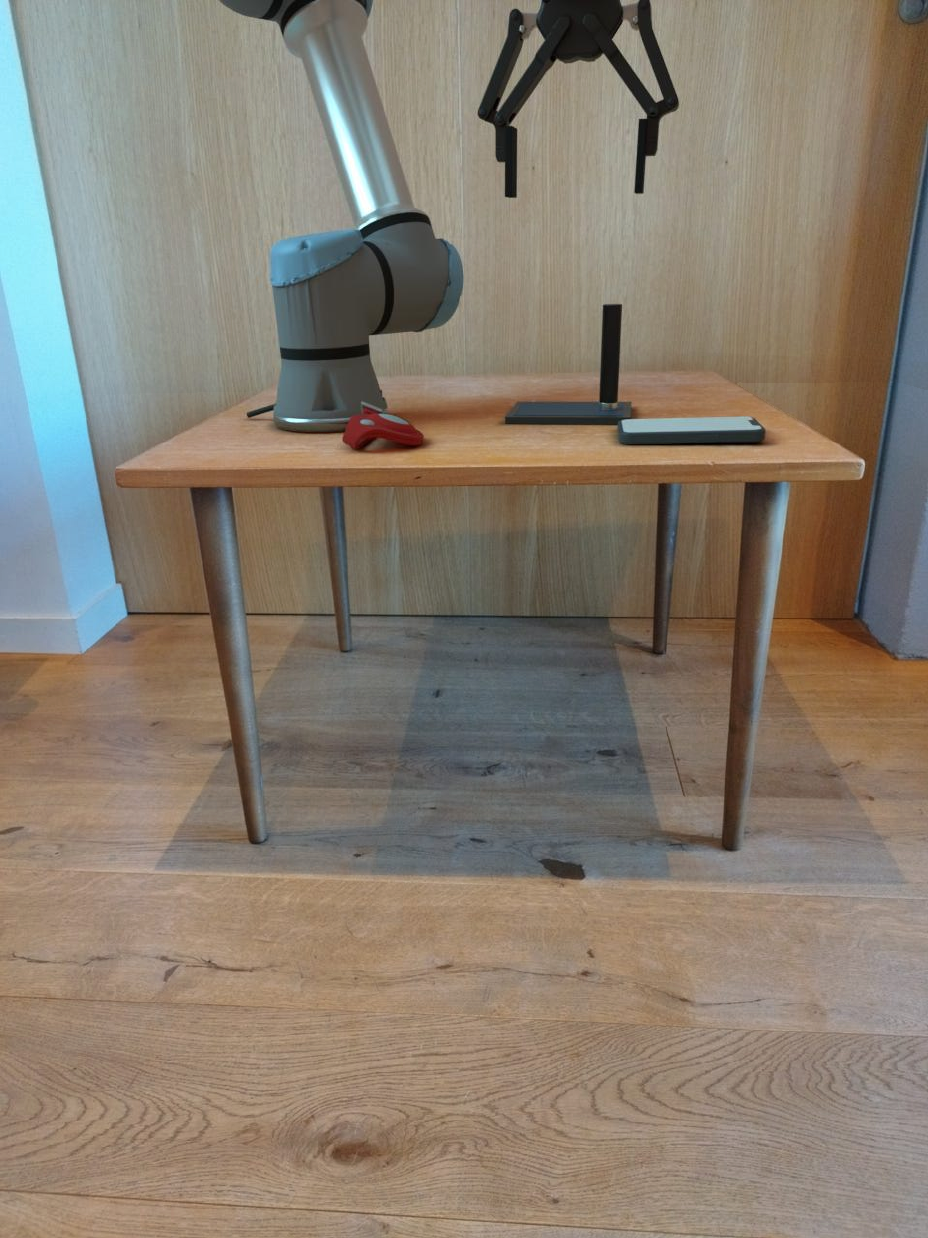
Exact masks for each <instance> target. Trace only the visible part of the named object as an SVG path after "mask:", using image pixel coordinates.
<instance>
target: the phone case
mask: <svg viewBox="0 0 928 1238" xmlns="http://www.w3.org/2000/svg"><path fill="white" fill-rule="evenodd" d="M616 428H617V429H616V430H617V437H618V442H619V443H620V444H623V445H660V444H662V445H663V444H664V445H665V444H669V445H670V444H711V443H712V444H714V443H715V444H716V443H732V444H742V443H749V444H750V443H757V442H762V441H764V440H765V439H766V431H767V430H766V428H765V427H764V426H763V425H762V424H761V423H760V422H759V421H758V420H757V419H756V418H755V417H752V416H709V417H706V416H705V417H667V418H666V417H665V418H664V417H663V418H631V419H627V420H620V421H619V422H618V425H617V427H616Z"/></svg>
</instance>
